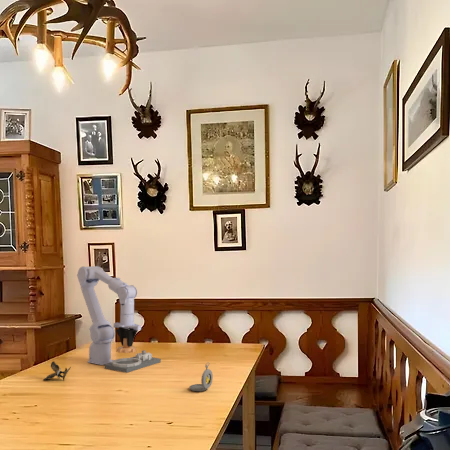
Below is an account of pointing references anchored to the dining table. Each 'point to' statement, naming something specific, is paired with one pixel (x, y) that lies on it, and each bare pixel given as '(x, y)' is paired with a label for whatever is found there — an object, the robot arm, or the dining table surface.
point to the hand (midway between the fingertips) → (126, 345)
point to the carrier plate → (133, 362)
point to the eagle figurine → (57, 371)
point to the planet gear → (126, 347)
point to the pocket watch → (203, 381)
